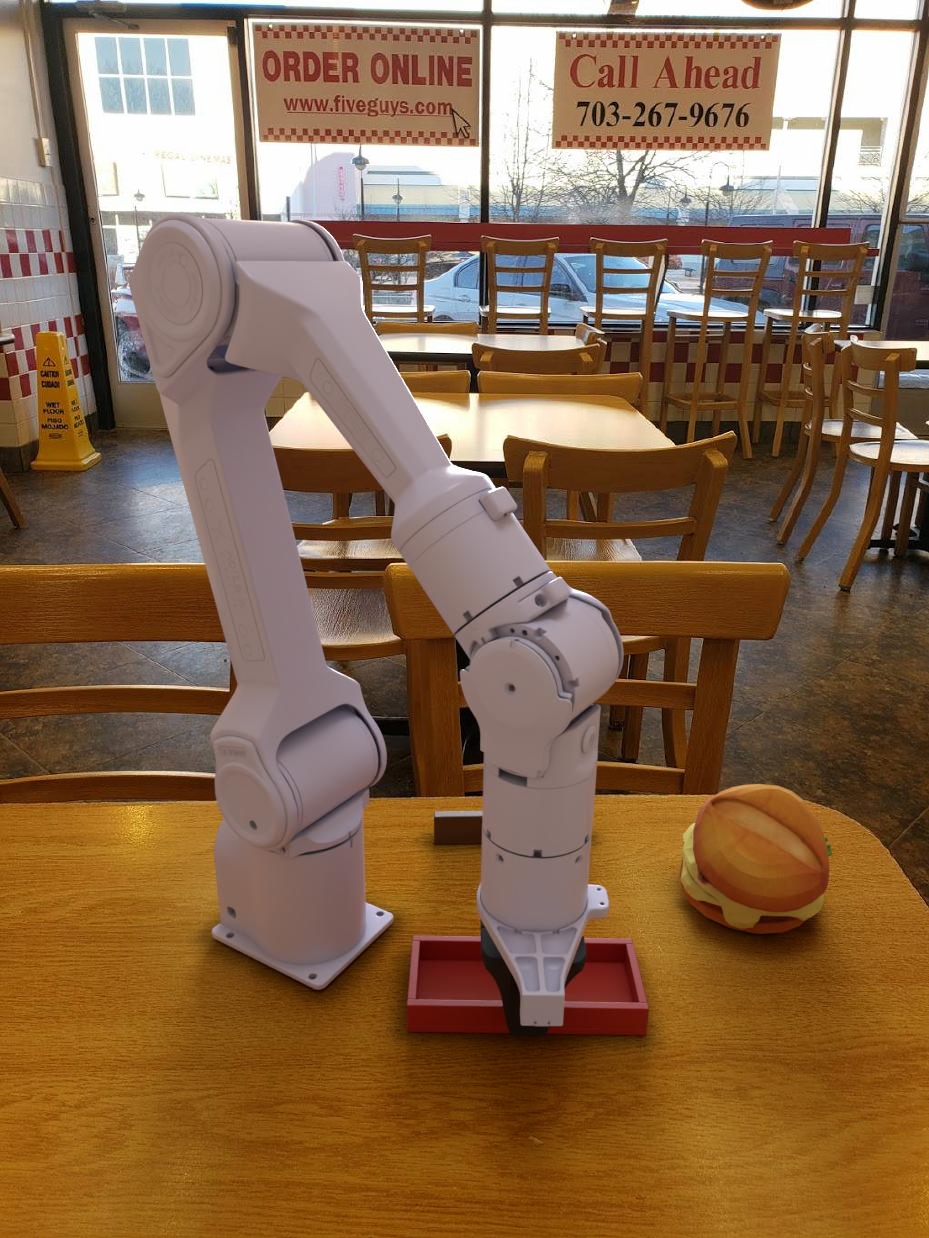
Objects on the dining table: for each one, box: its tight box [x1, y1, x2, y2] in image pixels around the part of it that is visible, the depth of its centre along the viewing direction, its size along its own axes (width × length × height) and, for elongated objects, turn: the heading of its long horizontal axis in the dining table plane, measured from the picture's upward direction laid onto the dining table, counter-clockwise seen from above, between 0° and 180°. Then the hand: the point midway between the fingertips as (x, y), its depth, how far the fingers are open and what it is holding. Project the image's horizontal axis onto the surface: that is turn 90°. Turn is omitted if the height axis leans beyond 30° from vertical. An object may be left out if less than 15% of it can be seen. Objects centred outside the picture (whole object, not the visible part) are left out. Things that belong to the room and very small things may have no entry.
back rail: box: [433, 810, 483, 845], centre depth 73 cm, size 1×12×2 cm, turn 93°
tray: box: [406, 935, 650, 1036], centre depth 57 cm, size 6×14×2 cm, turn 90°
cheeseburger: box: [679, 783, 833, 935], centre depth 65 cm, size 10×11×10 cm
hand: (527, 1028), depth 54 cm, fingers closed
